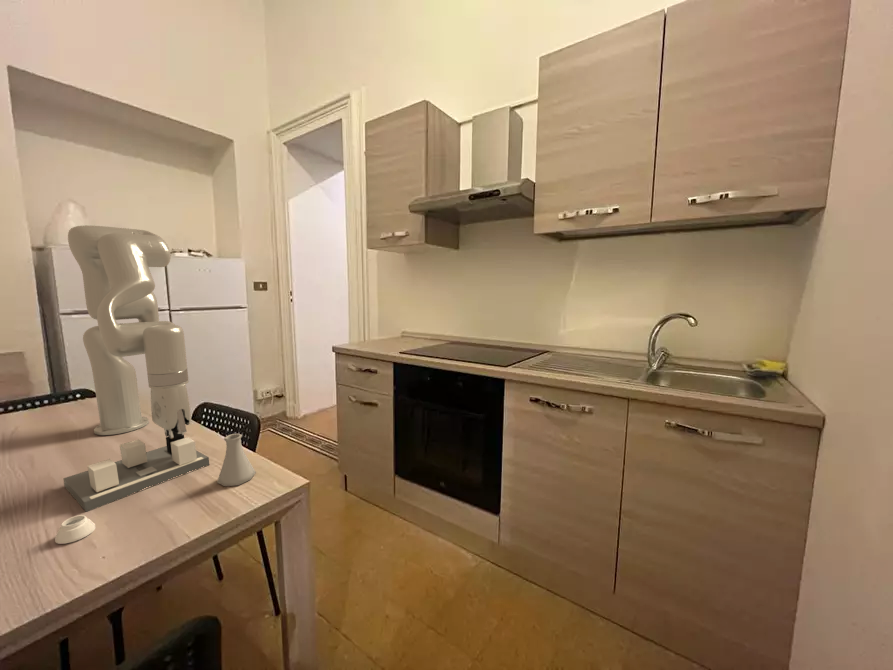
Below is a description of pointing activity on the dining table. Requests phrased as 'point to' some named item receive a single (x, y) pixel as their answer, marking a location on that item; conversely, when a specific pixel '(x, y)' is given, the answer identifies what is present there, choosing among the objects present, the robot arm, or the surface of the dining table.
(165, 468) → the switch panel
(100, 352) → the robot arm
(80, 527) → the upside-down white bowl
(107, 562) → the dining table surface
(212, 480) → the dining table surface
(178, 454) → the cream cube
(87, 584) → the dining table surface
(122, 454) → the tab
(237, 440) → the flask
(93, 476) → the tab
